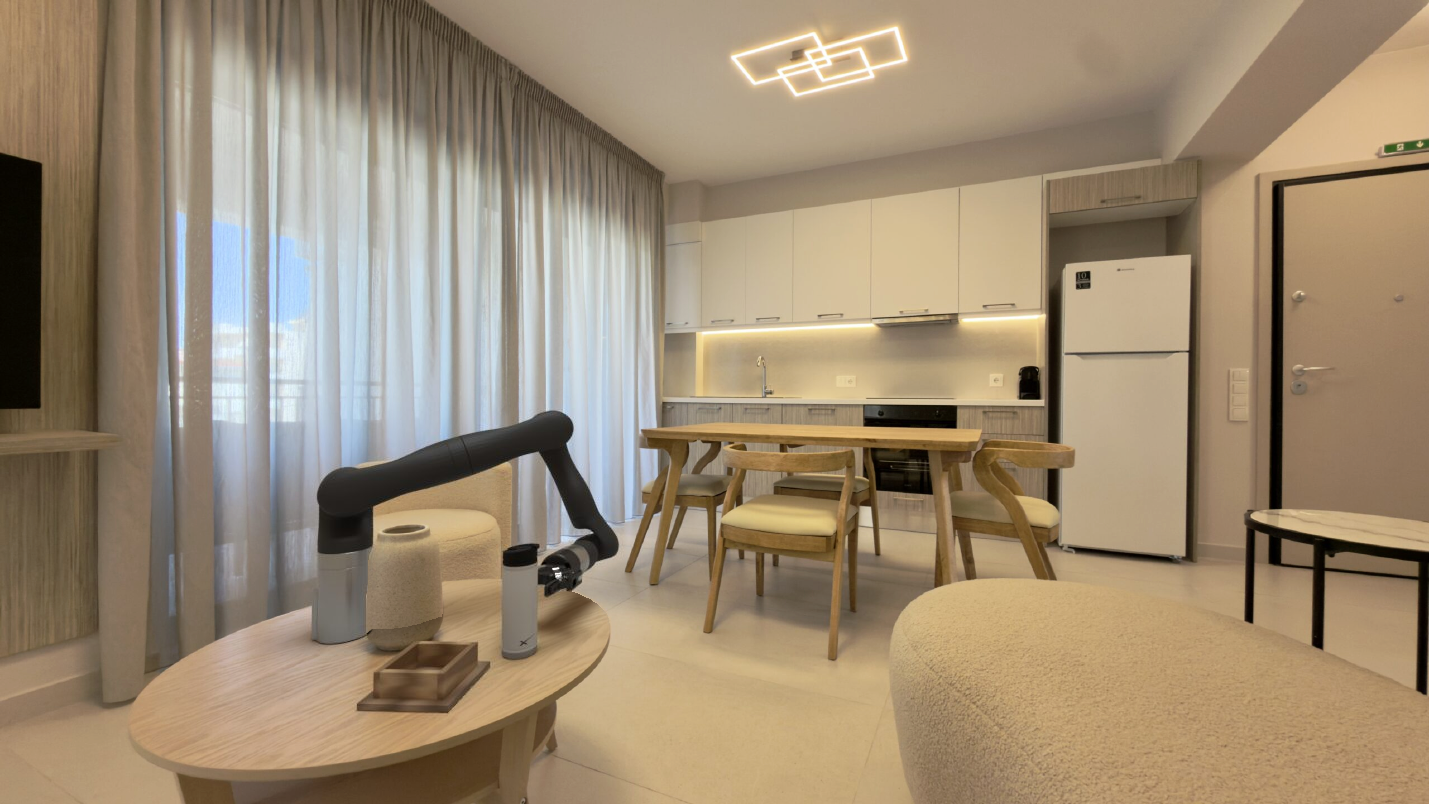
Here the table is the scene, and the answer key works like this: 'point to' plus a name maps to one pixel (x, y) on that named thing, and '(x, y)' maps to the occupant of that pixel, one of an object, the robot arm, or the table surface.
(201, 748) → the table surface
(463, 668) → the mug holder
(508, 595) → the travel mug
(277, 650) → the table surface
